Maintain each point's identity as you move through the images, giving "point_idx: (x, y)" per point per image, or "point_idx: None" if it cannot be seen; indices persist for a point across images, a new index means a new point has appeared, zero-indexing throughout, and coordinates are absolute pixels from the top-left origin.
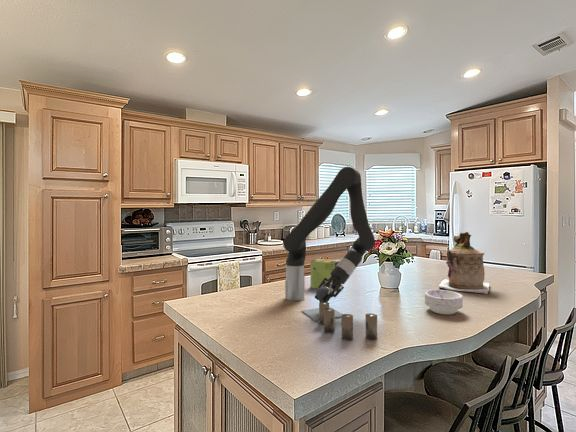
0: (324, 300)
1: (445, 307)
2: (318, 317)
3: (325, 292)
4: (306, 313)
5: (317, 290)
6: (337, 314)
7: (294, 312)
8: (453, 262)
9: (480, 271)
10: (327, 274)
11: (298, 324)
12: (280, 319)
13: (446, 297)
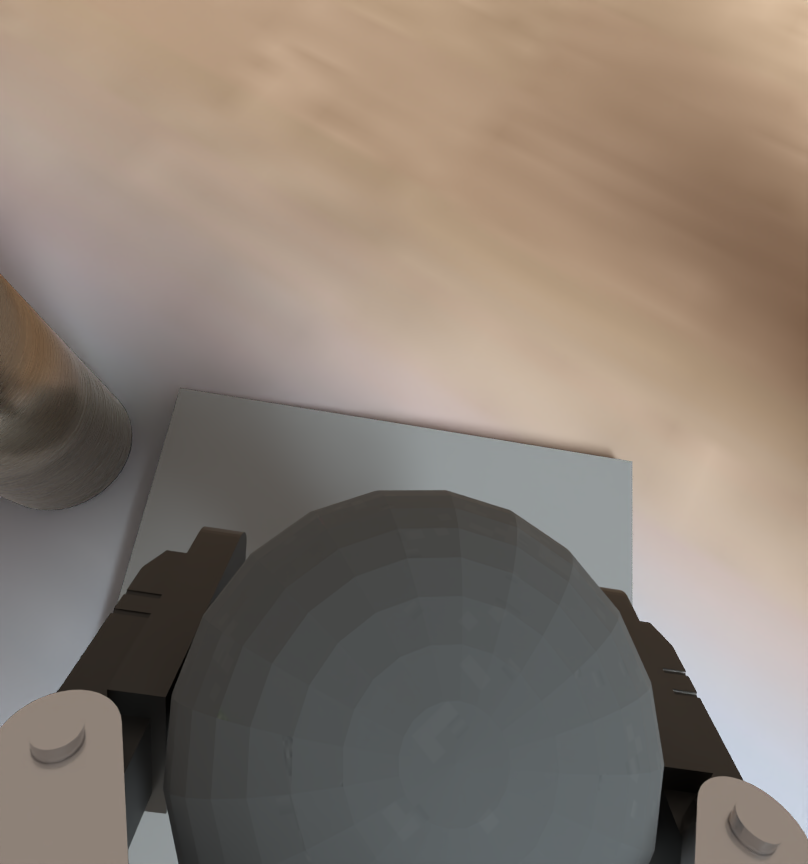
0: (163, 559)
1: None
2: (240, 475)
3: (192, 665)
4: (481, 441)
5: (510, 522)
6: (160, 853)
7: (637, 380)
8: None
9: None
10: None
11: (237, 193)
12: (481, 144)
13: None
